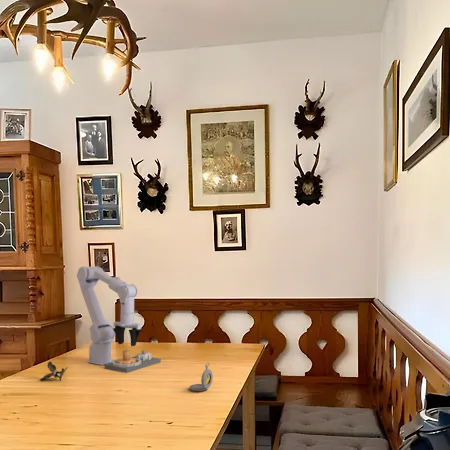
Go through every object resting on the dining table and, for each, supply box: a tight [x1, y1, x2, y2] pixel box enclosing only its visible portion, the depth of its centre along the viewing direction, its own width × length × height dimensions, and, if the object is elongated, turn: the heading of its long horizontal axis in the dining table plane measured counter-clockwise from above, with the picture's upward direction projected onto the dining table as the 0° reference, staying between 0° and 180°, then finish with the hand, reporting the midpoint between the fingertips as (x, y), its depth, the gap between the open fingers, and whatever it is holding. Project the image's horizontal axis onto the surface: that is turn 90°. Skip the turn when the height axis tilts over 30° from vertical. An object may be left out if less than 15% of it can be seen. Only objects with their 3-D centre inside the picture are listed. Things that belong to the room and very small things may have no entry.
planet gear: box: [115, 349, 136, 364], centre depth 197 cm, size 8×8×6 cm
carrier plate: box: [104, 349, 162, 374], centre depth 200 cm, size 13×21×5 cm, turn 147°
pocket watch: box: [188, 362, 214, 392], centre depth 165 cm, size 8×8×10 cm
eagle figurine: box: [40, 361, 68, 381], centre depth 178 cm, size 8×7×9 cm
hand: (127, 344), depth 198 cm, fingers open, 7 cm apart
